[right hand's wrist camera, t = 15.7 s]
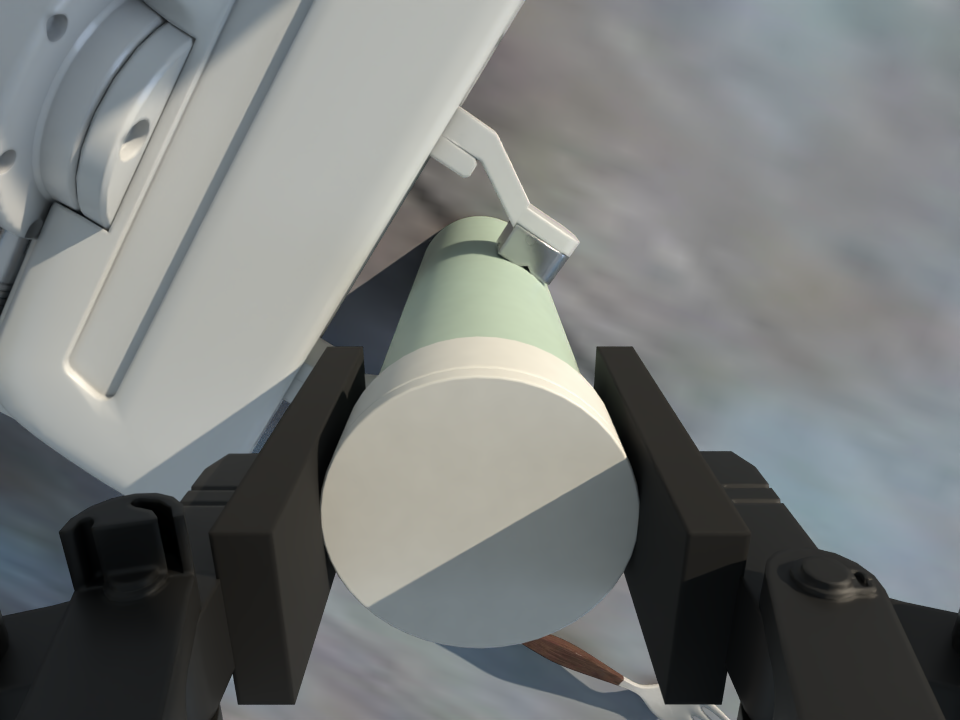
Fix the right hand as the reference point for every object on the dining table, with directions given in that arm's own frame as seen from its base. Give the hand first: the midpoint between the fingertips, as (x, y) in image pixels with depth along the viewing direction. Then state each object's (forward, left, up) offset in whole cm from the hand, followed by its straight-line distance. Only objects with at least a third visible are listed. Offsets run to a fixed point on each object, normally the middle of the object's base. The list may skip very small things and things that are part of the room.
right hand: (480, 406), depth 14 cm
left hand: (0, -1, -6) cm, 6 cm away
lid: (0, 0, +4) cm, 4 cm away
